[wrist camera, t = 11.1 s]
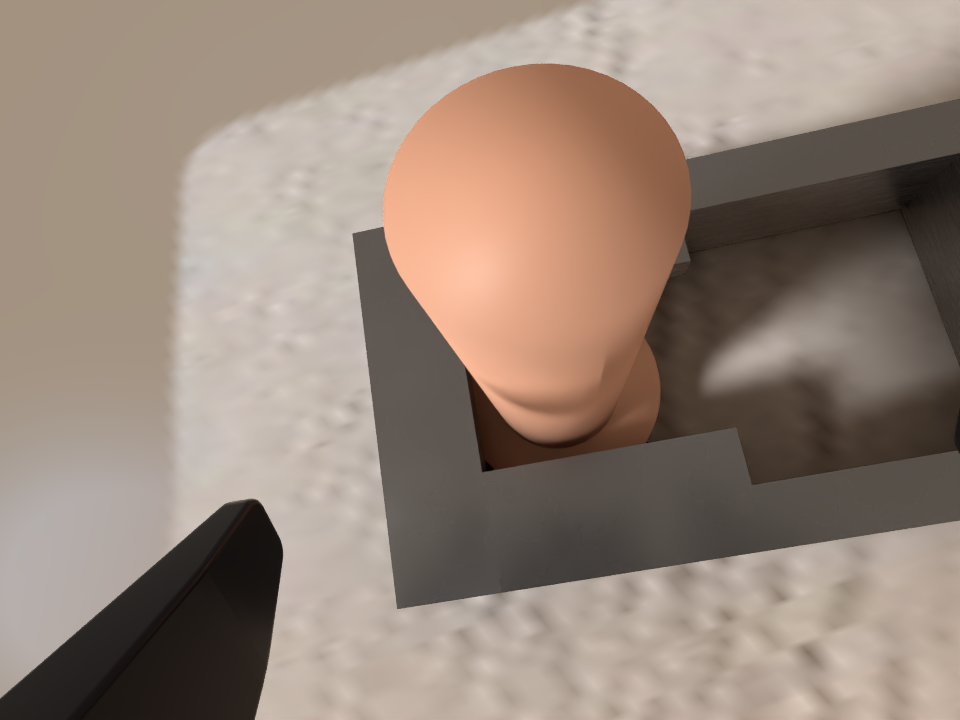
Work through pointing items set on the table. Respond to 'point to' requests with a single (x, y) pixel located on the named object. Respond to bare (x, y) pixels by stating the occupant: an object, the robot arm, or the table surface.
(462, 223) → the peg
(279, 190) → the table surface
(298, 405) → the table surface
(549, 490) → the keyhole plate
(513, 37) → the table surface
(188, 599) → the robot arm
